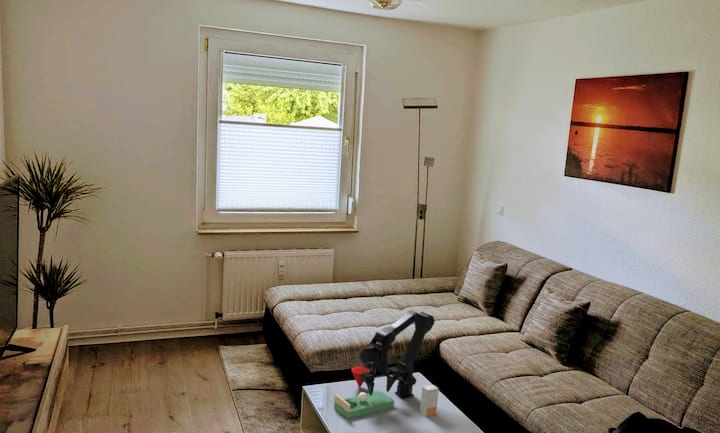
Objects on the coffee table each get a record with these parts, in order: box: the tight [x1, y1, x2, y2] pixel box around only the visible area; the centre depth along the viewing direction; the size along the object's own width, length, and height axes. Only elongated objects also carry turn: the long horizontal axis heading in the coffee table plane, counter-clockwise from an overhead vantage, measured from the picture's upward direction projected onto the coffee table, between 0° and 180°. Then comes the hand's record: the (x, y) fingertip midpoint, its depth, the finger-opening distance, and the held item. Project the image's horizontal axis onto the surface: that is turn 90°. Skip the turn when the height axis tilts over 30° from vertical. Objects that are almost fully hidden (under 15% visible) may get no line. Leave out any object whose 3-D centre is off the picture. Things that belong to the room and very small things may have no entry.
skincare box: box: [419, 384, 440, 417], centre depth 243 cm, size 6×4×12 cm
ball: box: [357, 391, 368, 402], centre depth 244 cm, size 4×4×4 cm
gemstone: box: [350, 365, 371, 388], centre depth 264 cm, size 9×9×10 cm
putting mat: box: [333, 390, 395, 420], centre depth 245 cm, size 24×11×6 cm, turn 124°
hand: (379, 393), depth 249 cm, fingers open, 9 cm apart
